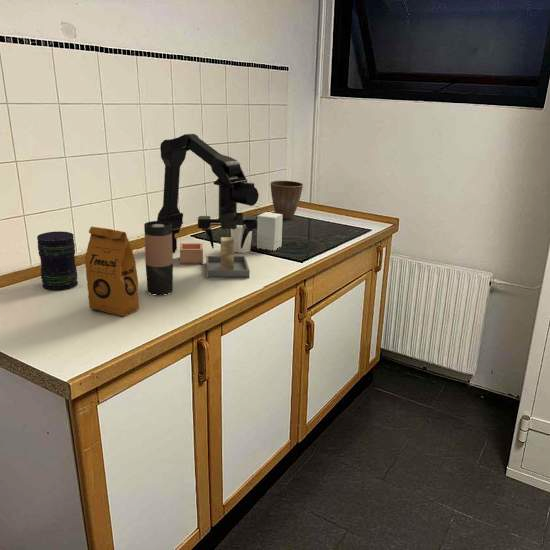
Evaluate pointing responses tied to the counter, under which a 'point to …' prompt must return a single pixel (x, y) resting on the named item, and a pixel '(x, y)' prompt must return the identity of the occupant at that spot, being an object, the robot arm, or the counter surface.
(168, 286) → the travel mug
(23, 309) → the counter surface
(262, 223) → the supplement box
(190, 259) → the pink open box
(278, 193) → the plant pot
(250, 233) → the white cup
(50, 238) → the storage jar
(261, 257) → the counter surface
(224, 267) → the wooden peg
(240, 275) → the charcoal tray
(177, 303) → the counter surface
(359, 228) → the counter surface
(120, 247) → the coffee package
